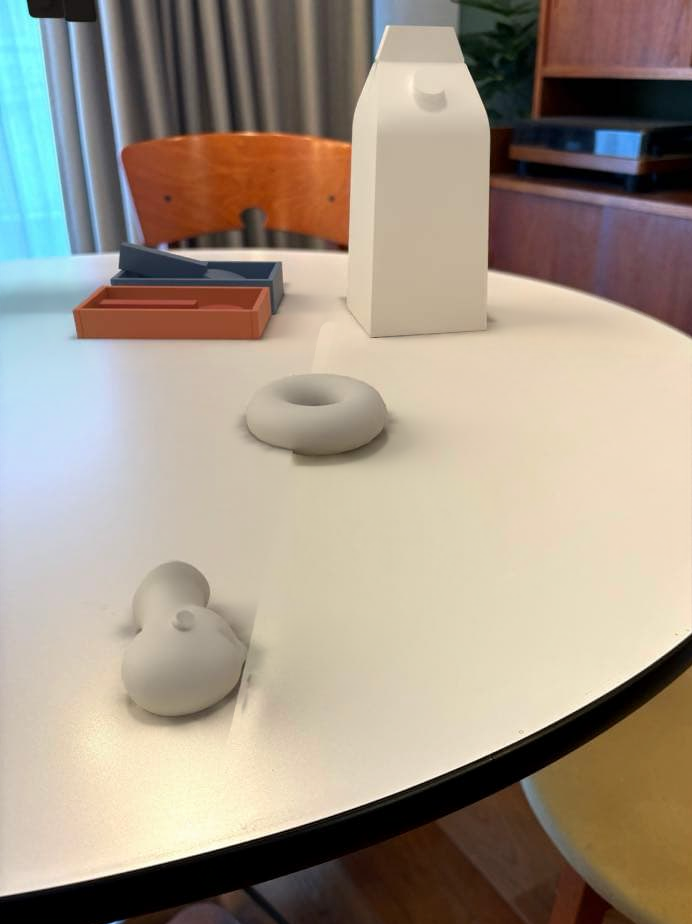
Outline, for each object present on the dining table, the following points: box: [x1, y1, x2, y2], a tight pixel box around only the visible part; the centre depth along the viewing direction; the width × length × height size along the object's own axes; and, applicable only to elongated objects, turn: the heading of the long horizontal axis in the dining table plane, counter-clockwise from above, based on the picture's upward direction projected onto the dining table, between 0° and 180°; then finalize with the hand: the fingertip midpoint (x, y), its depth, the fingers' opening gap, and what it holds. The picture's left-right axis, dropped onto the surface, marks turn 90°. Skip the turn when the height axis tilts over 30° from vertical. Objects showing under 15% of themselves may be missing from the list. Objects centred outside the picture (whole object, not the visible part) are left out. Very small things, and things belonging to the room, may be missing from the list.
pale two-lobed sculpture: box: [120, 559, 248, 717], centre depth 36 cm, size 4×8×5 cm
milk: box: [346, 24, 491, 338], centre depth 80 cm, size 12×12×26 cm
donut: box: [245, 373, 388, 456], centre depth 59 cm, size 10×4×10 cm
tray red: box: [72, 285, 272, 340], centre depth 80 cm, size 17×9×4 cm, turn 91°
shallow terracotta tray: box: [99, 300, 244, 310], centre depth 80 cm, size 14×5×3 cm, turn 92°
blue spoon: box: [117, 241, 246, 279], centre depth 89 cm, size 14×5×3 cm, turn 91°
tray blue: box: [109, 260, 285, 315], centre depth 90 cm, size 17×9×4 cm, turn 91°
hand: (65, 20), depth 80 cm, fingers open, 9 cm apart
